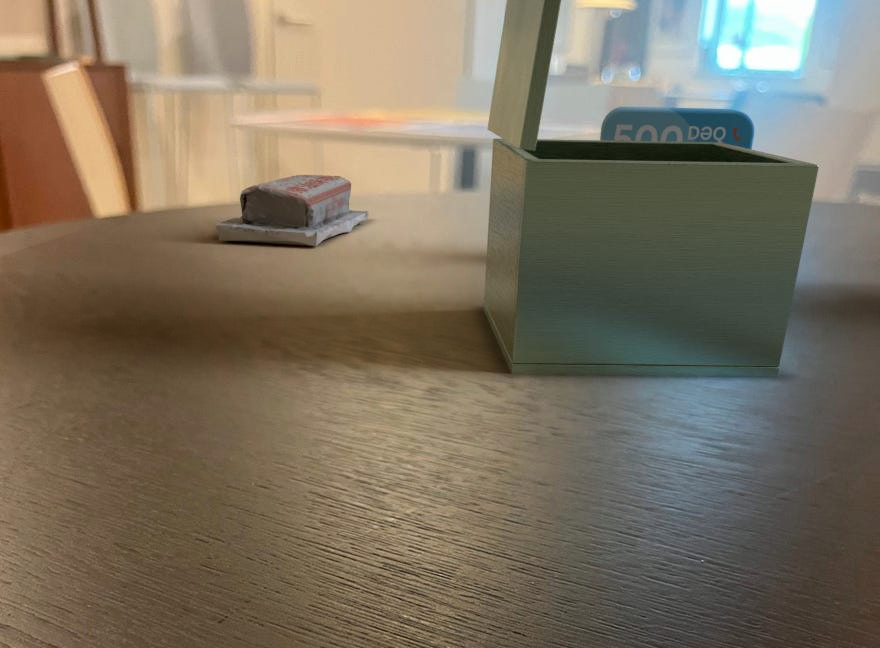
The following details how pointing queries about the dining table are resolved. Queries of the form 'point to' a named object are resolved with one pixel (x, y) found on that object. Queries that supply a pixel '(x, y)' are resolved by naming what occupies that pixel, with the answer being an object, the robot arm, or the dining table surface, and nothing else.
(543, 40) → the bin lid
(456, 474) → the dining table surface
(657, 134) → the data package
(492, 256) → the bin
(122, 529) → the dining table surface
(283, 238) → the packaged product
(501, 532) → the dining table surface
